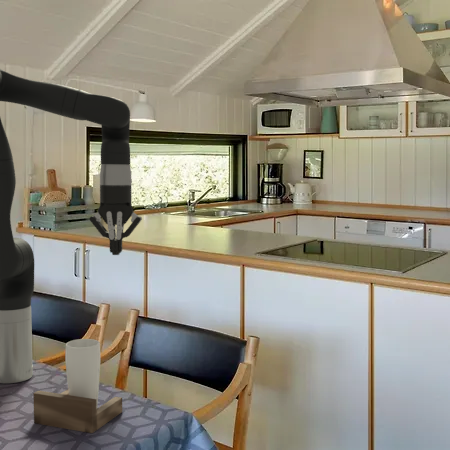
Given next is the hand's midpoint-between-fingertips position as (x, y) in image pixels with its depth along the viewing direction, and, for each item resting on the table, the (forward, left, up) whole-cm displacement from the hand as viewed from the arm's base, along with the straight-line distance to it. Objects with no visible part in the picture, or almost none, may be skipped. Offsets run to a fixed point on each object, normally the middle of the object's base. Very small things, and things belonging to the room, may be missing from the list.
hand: (116, 254), depth 149 cm
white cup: (-1, -29, -29) cm, 41 cm away
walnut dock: (-2, -29, -29) cm, 41 cm away
